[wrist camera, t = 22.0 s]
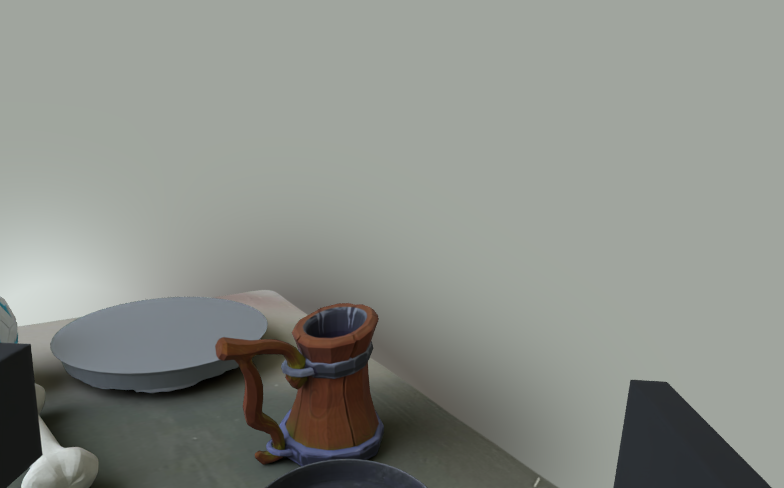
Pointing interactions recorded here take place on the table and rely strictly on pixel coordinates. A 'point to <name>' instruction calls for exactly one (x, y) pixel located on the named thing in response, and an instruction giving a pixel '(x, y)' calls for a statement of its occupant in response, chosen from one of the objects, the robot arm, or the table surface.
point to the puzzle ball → (7, 324)
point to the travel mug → (346, 476)
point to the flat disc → (154, 342)
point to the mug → (316, 387)
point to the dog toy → (59, 461)
